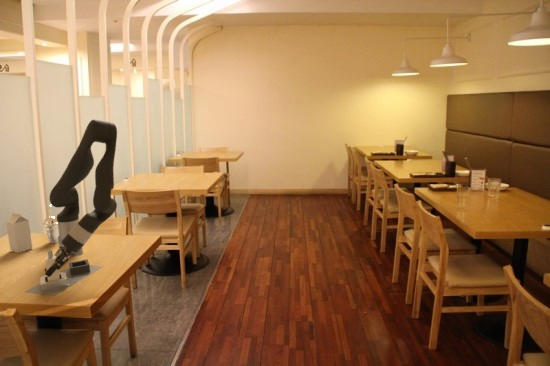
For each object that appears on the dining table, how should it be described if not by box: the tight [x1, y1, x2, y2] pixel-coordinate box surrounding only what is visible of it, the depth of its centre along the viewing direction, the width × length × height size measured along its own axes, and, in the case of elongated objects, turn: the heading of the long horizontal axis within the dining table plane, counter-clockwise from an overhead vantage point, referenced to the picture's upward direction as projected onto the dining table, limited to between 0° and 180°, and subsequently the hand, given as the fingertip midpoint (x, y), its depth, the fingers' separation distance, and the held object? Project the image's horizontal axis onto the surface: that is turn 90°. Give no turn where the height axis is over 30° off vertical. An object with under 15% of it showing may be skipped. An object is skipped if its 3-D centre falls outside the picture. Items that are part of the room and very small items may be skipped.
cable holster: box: [68, 259, 90, 275], centre depth 179 cm, size 7×7×3 cm
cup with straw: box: [42, 203, 59, 244], centre depth 220 cm, size 8×9×20 cm
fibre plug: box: [44, 249, 60, 282], centre depth 164 cm, size 4×4×13 cm
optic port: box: [39, 271, 69, 292], centre depth 165 cm, size 9×9×3 cm
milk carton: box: [5, 212, 33, 254], centre depth 209 cm, size 7×7×19 cm
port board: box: [24, 264, 104, 296], centre depth 172 cm, size 14×28×2 cm, turn 165°
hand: (47, 273), depth 164 cm, fingers closed on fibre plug, 4 cm apart
